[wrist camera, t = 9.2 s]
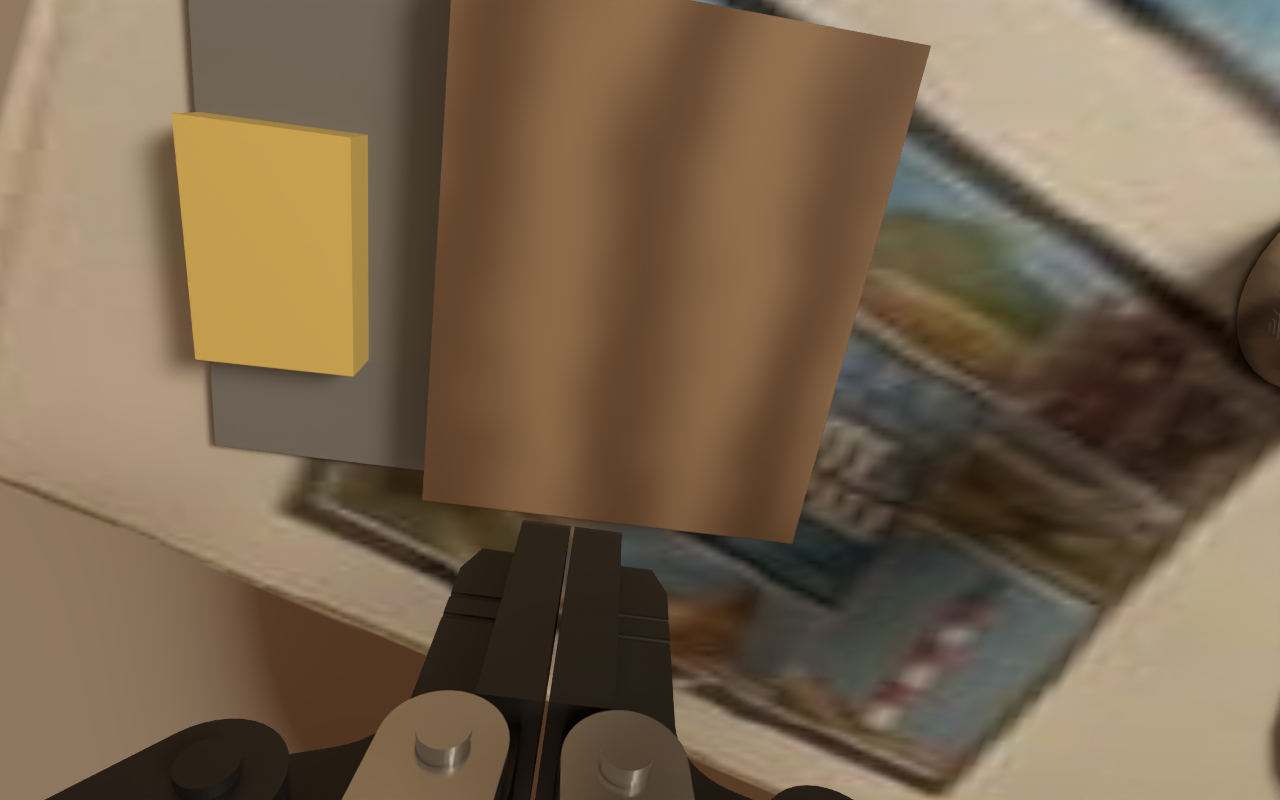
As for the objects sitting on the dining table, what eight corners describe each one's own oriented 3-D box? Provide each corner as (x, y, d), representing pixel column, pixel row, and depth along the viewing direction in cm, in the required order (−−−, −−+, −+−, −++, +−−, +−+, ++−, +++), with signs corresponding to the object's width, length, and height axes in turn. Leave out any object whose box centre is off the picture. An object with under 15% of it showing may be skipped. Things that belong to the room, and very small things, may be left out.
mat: (461, -31, 26) (458, -34, 26) (430, 466, 34) (428, 471, 33) (190, -82, 25) (183, -85, 25) (220, 440, 33) (215, 445, 32)
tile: (171, 113, 25) (201, 111, 27) (195, 359, 29) (220, 343, 30) (350, 137, 26) (367, 134, 28) (353, 376, 29) (368, 359, 31)
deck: (898, 50, 28) (930, 45, 25) (777, 508, 35) (792, 543, 32) (470, -30, 26) (453, -45, 23) (437, 467, 34) (422, 500, 31)
